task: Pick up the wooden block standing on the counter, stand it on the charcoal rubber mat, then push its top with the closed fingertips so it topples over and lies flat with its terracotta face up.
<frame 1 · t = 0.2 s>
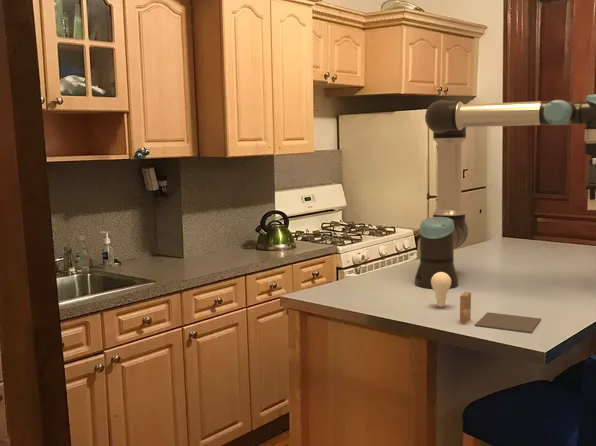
hand: (594, 207, 209), 28 cm above the counter, fingers open, 13 cm apart
mat: (508, 322, 179), on the counter
wooden block: (465, 321, 181), on the counter
lightbulb: (440, 307, 196), on the counter
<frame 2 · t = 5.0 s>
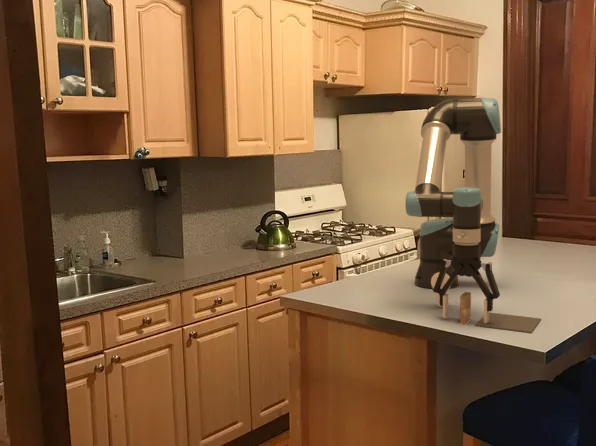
hand: (465, 319, 181), 1 cm above the counter, fingers open, 11 cm apart
nothing on the counter moved.
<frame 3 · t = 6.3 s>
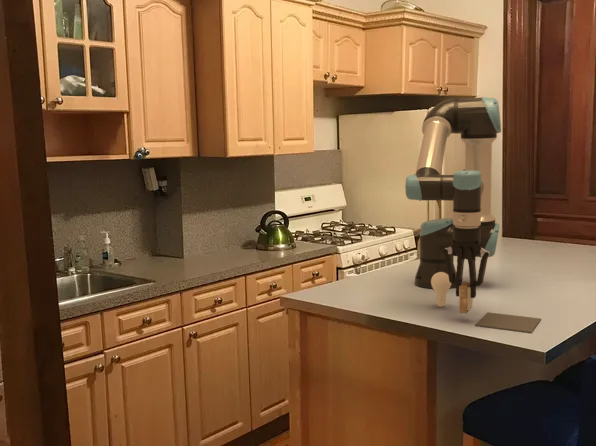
hand: (465, 308, 181), 4 cm above the counter, fingers closed on wooden block, 2 cm apart
wooden block: (465, 311, 181), point 3 cm above the counter, touching gripper
everything else where it was.
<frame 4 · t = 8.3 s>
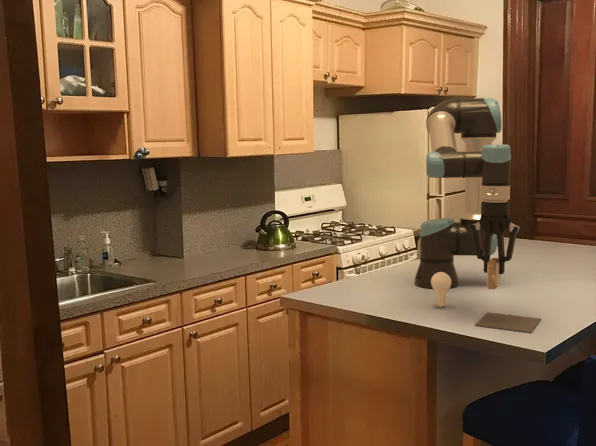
hand: (493, 284, 178), 11 cm above the counter, fingers closed on wooden block, 2 cm apart
wooden block: (493, 287, 178), point 10 cm above the counter, touching gripper
everything else where it was.
when the fingers open (1 cm above the counter, at t = 10.2 s): wooden block stays where it is, resting on mat.
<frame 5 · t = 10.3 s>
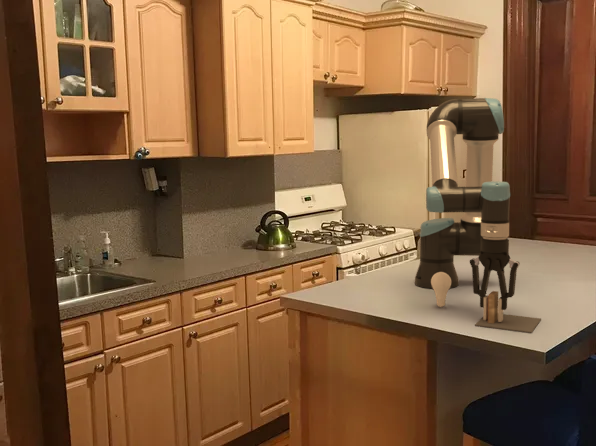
hand: (493, 319, 179), 1 cm above the counter, fingers open, 3 cm apart
wooden block: (492, 320, 179), resting on mat
everything else where it was.
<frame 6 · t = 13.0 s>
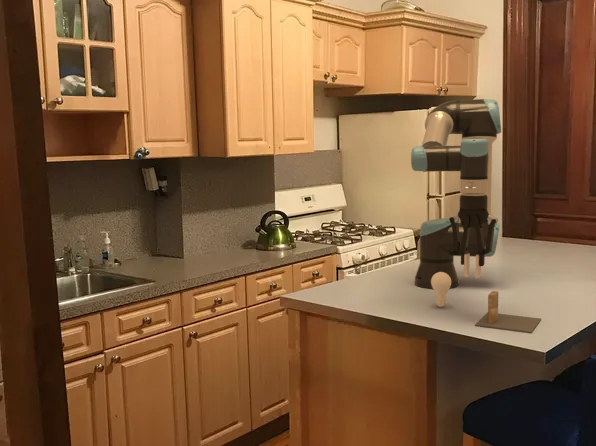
hand: (472, 276, 181), 13 cm above the counter, fingers open, 3 cm apart
nothing on the counter moved.
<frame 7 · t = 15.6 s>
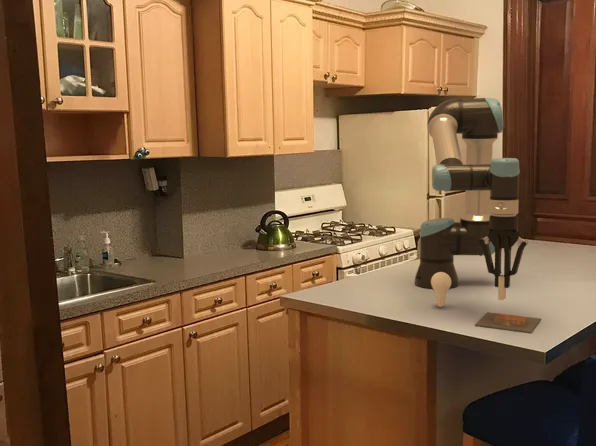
hand: (502, 298, 177), 7 cm above the counter, fingers closed
wooden block: (496, 318, 179), point 1 cm above the counter, tilted 90°, touching mat
everything else where it was.
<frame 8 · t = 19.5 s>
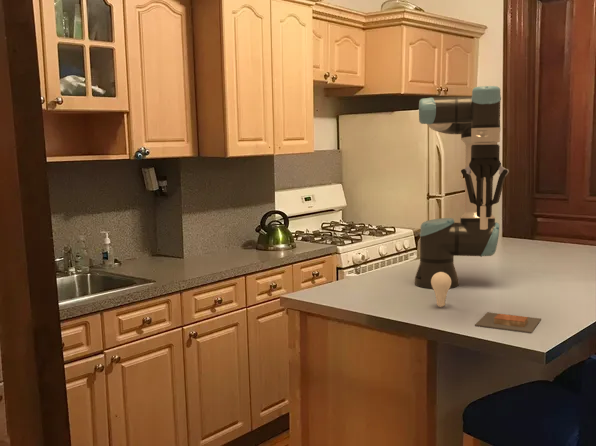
hand: (483, 228, 178), 26 cm above the counter, fingers closed
nothing on the counter moved.
at the end: wooden block tilted 90°; wooden block inside the target area on the mat (3.3 cm from its centre), point 1.2 cm above the mat's base; the gripper is holding nothing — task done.
